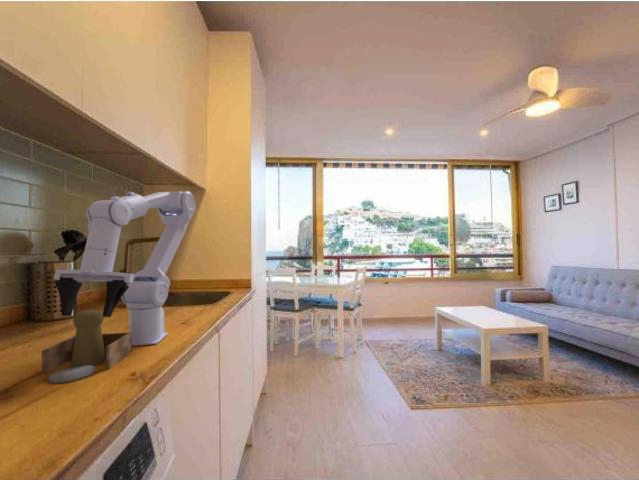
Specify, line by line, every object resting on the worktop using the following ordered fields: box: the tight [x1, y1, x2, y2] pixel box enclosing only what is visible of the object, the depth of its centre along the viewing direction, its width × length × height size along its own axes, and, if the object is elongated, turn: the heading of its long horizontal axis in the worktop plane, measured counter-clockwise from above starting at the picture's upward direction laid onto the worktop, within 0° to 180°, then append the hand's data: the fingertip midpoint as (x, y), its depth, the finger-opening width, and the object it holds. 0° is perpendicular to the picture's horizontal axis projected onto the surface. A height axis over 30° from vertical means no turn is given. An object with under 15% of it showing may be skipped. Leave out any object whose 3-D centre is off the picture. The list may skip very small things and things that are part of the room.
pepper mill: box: [70, 309, 107, 367], centre depth 67 cm, size 6×6×11 cm
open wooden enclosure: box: [41, 332, 133, 375], centre depth 68 cm, size 10×12×4 cm
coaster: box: [48, 365, 96, 384], centre depth 61 cm, size 7×7×1 cm
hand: (86, 316), depth 66 cm, fingers open, 7 cm apart
